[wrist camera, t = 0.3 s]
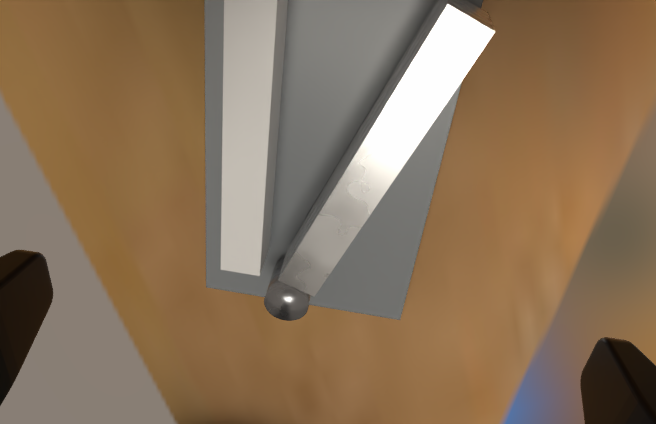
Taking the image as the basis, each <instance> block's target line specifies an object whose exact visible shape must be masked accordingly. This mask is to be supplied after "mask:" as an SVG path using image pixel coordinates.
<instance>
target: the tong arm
mask: <svg viewBox="0 0 656 424" xmlns="http://www.w3.org/2000/svg"><path fill="white" fill-rule="evenodd" d="M494 33H495V29H494V27H493V24H492V22H491V19H490V17H489V14H488V12H486V11H484V10H483V9H481V8H479V7H477V6H476V5H474V4H472V3H470V2H469V1H467V0H437V1H436V2H435V4H434V6H433V7H432V9H431V11H430V12H429V14H428V16H427V17H426V19H425V21H424V22H423V24H422V26H421V27H420V29H419V31H418V32H417V34H416V36H415V37H414V39H413V41H412V42H411V44H410V46H409V47H408V49H407V51H406V52H405V54H404V56H403V57H402V59H401V61H400V62H399V64H398V66H397V67H396V69H395V71H394V72H393V74H392V76H391V77H390V79H389V81H388V82H387V84H386V86H385V87H384V89H383V91H382V92H381V94H380V96H379V97H378V99H377V101H376V102H375V104H374V106H373V107H372V109H371V111H370V112H369V114H368V116H367V117H366V119H365V121H364V122H363V124H362V126H361V127H360V129H359V131H358V132H357V134H356V136H355V137H354V139H353V141H352V142H351V144H350V146H349V147H348V149H347V151H346V152H345V154H344V156H343V157H342V159H341V161H340V162H339V164H338V166H337V167H336V169H335V170H334V172H333V174H332V175H331V177H330V179H329V180H328V182H327V184H326V185H325V187H324V189H323V190H322V192H321V194H320V195H319V197H318V199H317V200H316V202H315V204H314V205H313V207H312V209H311V210H310V212H309V214H308V215H307V217H306V219H305V220H304V222H303V224H302V225H301V227H300V229H299V230H298V232H297V234H296V235H295V237H294V239H293V240H292V242H291V244H290V245H289V247H288V249H287V251H286V255H285V258H282V259H280V260H279V261H278V262H277V263H276V264H275V266H274V270H273V273H272V276H271V279H270V283H269V286H268V289H267V292H266V296H265V299H264V304H265V307H266V309H267V311H268V312H269V313H270V314H271V315H273V316H274V317H276V318H279V319H282V320H287V321H291V320H297V319H299V318H301V317H303V316H304V315H305V314H306V312H307V310H308V305H309V301H310V296H314V297H315V295H316V294H317V292H318V291H319V289H320V288H321V286H322V285H323V283H324V282H325V280H326V279H327V277H328V276H329V275H330V273H331V272H332V270H333V269H334V267H335V266H336V264H337V263H338V261H339V260H340V258H341V257H342V256H343V254H344V253H345V251H346V250H347V248H348V247H349V245H350V244H351V242H352V241H353V239H354V238H355V237H356V235H357V234H358V232H359V231H360V229H361V228H362V226H363V225H364V223H365V222H366V220H367V219H368V217H369V216H370V215H371V213H372V212H373V210H374V209H375V207H376V206H377V204H378V203H379V201H380V200H381V198H382V197H383V196H384V194H385V193H386V191H387V190H388V188H389V187H390V185H391V184H392V182H393V181H394V179H395V178H396V177H397V175H398V174H399V172H400V171H401V169H402V168H403V166H404V165H405V163H406V162H407V160H408V159H409V157H410V156H411V155H412V153H413V152H414V150H415V149H416V147H417V146H418V144H419V143H420V141H421V140H422V138H423V137H424V136H425V134H426V133H427V131H428V130H429V128H430V127H431V125H432V124H433V122H434V121H435V119H436V118H437V117H438V115H439V114H440V112H441V111H442V109H443V108H444V106H445V105H446V103H447V102H448V100H449V99H450V97H451V96H452V95H453V93H454V92H455V90H456V89H457V87H458V86H459V84H460V83H461V81H462V80H463V78H464V77H465V76H466V74H467V73H468V71H469V70H470V68H471V67H472V65H473V64H474V62H475V61H476V59H477V58H478V57H479V55H480V54H481V52H482V51H483V49H484V48H485V46H486V45H487V43H488V42H489V40H490V39H491V37H492V36H493V35H494Z"/></svg>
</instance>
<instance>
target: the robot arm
mask: <svg viewBox="0 0 656 424" xmlns="http://www.w3.org/2000/svg"><path fill="white" fill-rule="evenodd" d="M52 299H53V288H52V283H51V279H50V275H49V271H48V266H47V262H46V259H45V257H44V256H43V255H42V254H41V253H39V252H33V251H26V250H15V251H12V252H10V253H8V254H6V255H4V256H1V257H0V405H1V404H2V402H3V400H4V399H5V397H6V395H7V394H8V392H9V390H10V388H11V387H12V385H13V383H14V381H15V379H16V377H17V375H18V373H19V371H20V369H21V367H22V365H23V363H24V361H25V358H26V356H27V354H28V352H29V350H30V348H31V346H32V344H33V341H34V339H35V337H36V335H37V333H38V331H39V329H40V327H41V325H42V322H43V320H44V318H45V316H46V314H47V312H48V309H49V307H50V305H51V303H52ZM581 394H582V403H583V411H584V420H585V424H656V366H655V365H654V364H653V363H652V362H651V361H650V360H649V359H648V358H647V357H646V356H645V355H644V354H643V353H642V352H641V351H640V350H639V349H638V348H637V347H636V346H634V345H633V344H632V343H631V342H629V341H626V340H621V339H615V338H608V337H604V338H601V339H600V340H599V341H598V342H597V344H596V345H595V347H594V349H593V351H592V353H591V355H590V357H589V359H588V361H587V363H586V365H585V367H584V369H583V371H582V375H581Z"/></svg>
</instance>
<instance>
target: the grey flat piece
mask: <svg viewBox="0 0 656 424" xmlns="http://www.w3.org/2000/svg"><path fill="white" fill-rule="evenodd" d="M436 1H437V0H205V161H206V287H208V288H214V289H220V290H226V291H232V292H238V293H243V294H249V295H255V296H261V297H265V296H266V292H267V289H268V286H269V283H270V279H271V276H272V273H273V270H274V266H275V264H276V263H277V262H278V261H279V260H280V259H282V258H285V255H286V251H287V249H288V247H289V245H290V244H291V242H292V240H293V239H294V237H295V235H296V234H297V232H298V230H299V229H300V227H301V225H302V224H303V222H304V220H305V219H306V217H307V215H308V214H309V212H310V210H311V209H312V207H313V205H314V204H315V202H316V200H317V199H318V197H319V195H320V194H321V192H322V190H323V189H324V187H325V185H326V184H327V182H328V180H329V179H330V177H331V175H332V174H333V172H334V170H335V169H336V167H337V166H338V164H339V162H340V161H341V159H342V157H343V156H344V154H345V152H346V151H347V149H348V147H349V146H350V144H351V142H352V141H353V139H354V137H355V136H356V134H357V132H358V131H359V129H360V127H361V126H362V124H363V122H364V121H365V119H366V117H367V116H368V114H369V112H370V111H371V109H372V107H373V106H374V104H375V102H376V101H377V99H378V97H379V96H380V94H381V92H382V91H383V89H384V87H385V86H386V84H387V82H388V81H389V79H390V77H391V76H392V74H393V72H394V71H395V69H396V67H397V66H398V64H399V62H400V61H401V59H402V57H403V56H404V54H405V52H406V51H407V49H408V47H409V46H410V44H411V42H412V41H413V39H414V37H415V36H416V34H417V32H418V31H419V29H420V27H421V26H422V24H423V22H424V21H425V19H426V17H427V16H428V14H429V12H430V11H431V9H432V7H433V6H434V4H435V2H436ZM467 1H469V2H470V3H472V4H474V5H476V6H477V7H479V8H481V6H482V2H483V0H467ZM461 83H462V81H461ZM461 83H460V84H459V86H458V87H457V89H456V90H455V92H454V93H453V95H452V96H451V97H450V99H449V100H448V102H447V103H446V105H445V106H444V108H443V109H442V111H441V112H440V114H439V115H438V117H437V118H436V119H435V121H434V122H433V124H432V125H431V127H430V128H429V130H428V131H427V133H426V134H425V136H424V137H423V138H422V140H421V141H420V143H419V144H418V146H417V147H416V149H415V150H414V152H413V153H412V155H411V156H410V157H409V159H408V160H407V162H406V163H405V165H404V166H403V168H402V169H401V171H400V172H399V174H398V175H397V177H396V178H395V179H394V181H393V182H392V184H391V185H390V187H389V188H388V190H387V191H386V193H385V194H384V196H383V197H382V198H381V200H380V201H379V203H378V204H377V206H376V207H375V209H374V210H373V212H372V213H371V215H370V216H369V217H368V219H367V220H366V222H365V223H364V225H363V226H362V228H361V229H360V231H359V232H358V234H357V235H356V237H355V238H354V239H353V241H352V242H351V244H350V245H349V247H348V248H347V250H346V251H345V253H344V254H343V256H342V257H341V258H340V260H339V261H338V263H337V264H336V266H335V267H334V269H333V270H332V272H331V273H330V275H329V276H328V277H327V279H326V280H325V282H324V283H323V285H322V286H321V288H320V289H319V291H318V292H317V294H316V295H315V297H314V296H310V301H309V305H314V306H320V307H326V308H332V309H338V310H344V311H350V312H356V313H362V314H367V315H373V316H379V317H385V318H391V319H397V320H400V318H401V314H402V310H403V306H404V302H405V299H406V295H407V291H408V287H409V283H410V279H411V276H412V272H413V268H414V264H415V260H416V256H417V252H418V249H419V245H420V241H421V237H422V233H423V229H424V226H425V222H426V218H427V214H428V210H429V206H430V202H431V199H432V195H433V191H434V187H435V183H436V179H437V176H438V172H439V168H440V164H441V160H442V156H443V152H444V149H445V145H446V141H447V137H448V133H449V129H450V125H451V122H452V118H453V114H454V110H455V106H456V102H457V99H458V95H459V91H460V87H461Z"/></svg>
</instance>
